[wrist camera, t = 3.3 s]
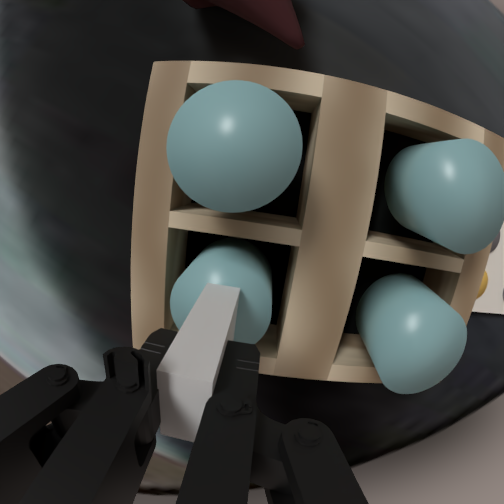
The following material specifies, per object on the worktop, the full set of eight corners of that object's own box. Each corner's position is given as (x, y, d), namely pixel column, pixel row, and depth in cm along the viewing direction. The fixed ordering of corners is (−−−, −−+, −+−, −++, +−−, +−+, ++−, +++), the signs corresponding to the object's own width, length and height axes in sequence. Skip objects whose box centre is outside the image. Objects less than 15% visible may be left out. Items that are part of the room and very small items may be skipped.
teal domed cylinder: (346, 343, 17) (364, 394, 12) (367, 267, 16) (399, 302, 11) (413, 348, 17) (442, 392, 12) (437, 278, 15) (480, 310, 11)
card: (437, 305, 19) (442, 309, 18) (465, 196, 17) (471, 198, 16) (515, 312, 18) (520, 316, 18) (540, 225, 16) (545, 227, 16)
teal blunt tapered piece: (376, 223, 15) (414, 244, 10) (390, 134, 14) (433, 122, 9) (447, 238, 15) (495, 261, 10) (461, 157, 14) (513, 158, 9)
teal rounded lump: (191, 305, 19) (169, 343, 15) (197, 232, 18) (172, 252, 13) (265, 317, 19) (262, 360, 14) (278, 244, 18) (280, 269, 13)
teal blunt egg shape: (192, 194, 15) (159, 204, 11) (204, 103, 14) (177, 77, 9) (285, 207, 15) (291, 222, 11) (299, 114, 14) (310, 89, 9)
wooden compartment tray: (155, 318, 20) (133, 347, 17) (177, 81, 16) (153, 61, 12) (419, 352, 20) (440, 382, 16) (471, 142, 16) (506, 139, 12)
